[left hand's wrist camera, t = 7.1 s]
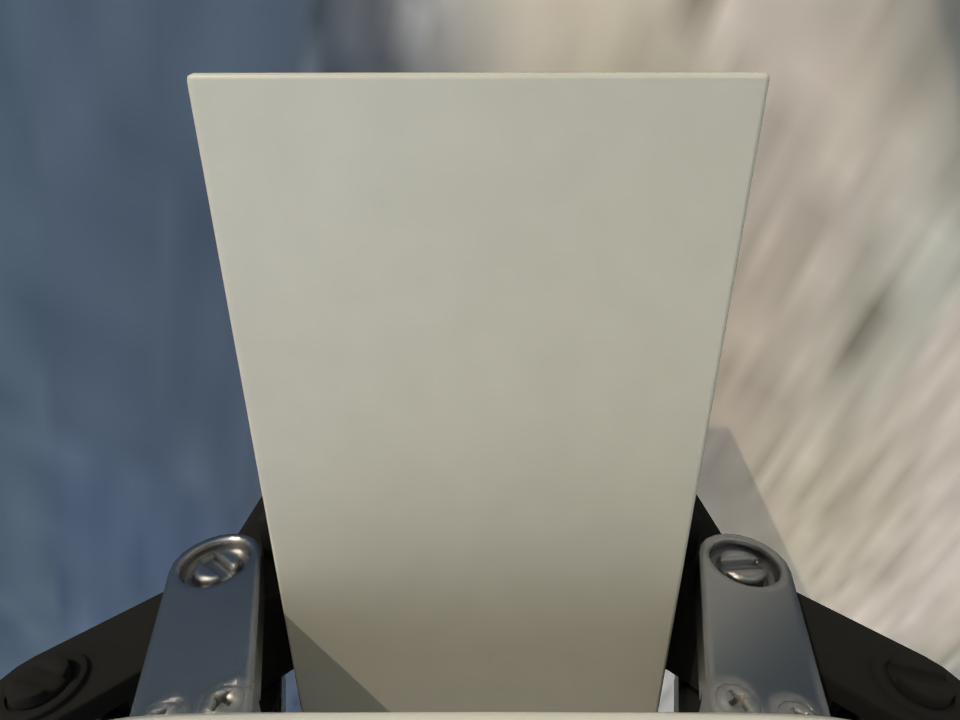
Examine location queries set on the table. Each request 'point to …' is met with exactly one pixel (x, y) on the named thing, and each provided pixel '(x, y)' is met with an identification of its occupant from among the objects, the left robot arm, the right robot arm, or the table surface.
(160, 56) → the table surface
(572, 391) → the post
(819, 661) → the left robot arm
